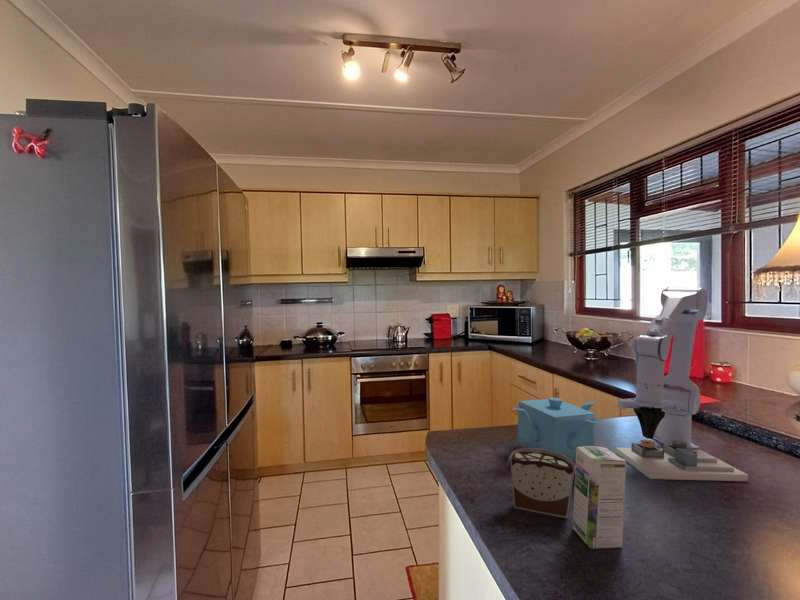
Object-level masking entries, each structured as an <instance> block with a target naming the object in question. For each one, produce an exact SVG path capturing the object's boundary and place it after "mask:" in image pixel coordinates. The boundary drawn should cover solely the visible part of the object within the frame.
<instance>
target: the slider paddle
mask: <svg viewBox="0 0 800 600" xmlns="http://www.w3.org/2000/svg"><path fill="white" fill-rule="evenodd" d="M675 461H677V462H678V463H680V464H682V465H683V466H697V455H696V454H695V453H693V452H691V451H689V450H687V449H677V448H676V457H675Z"/></svg>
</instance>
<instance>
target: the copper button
mask: <svg viewBox="0 0 800 600" xmlns="http://www.w3.org/2000/svg"><path fill="white" fill-rule="evenodd" d="M640 443H641V444H640V447H641V448H643V449H645V450H655V446H656V444H655V443H656V442H655V441H652V440H650V439H640Z"/></svg>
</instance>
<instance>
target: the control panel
mask: <svg viewBox="0 0 800 600" xmlns="http://www.w3.org/2000/svg"><path fill="white" fill-rule="evenodd" d="M640 444H641V442H640V443H637V442H635V443H632V442H631V447H615V453H614V454H616V455H617V456H619V457H620V458H621V459H624V460H626V463H627V464H630V465H631V466H632V467H633V468H635V469H636V470H637V471H639V472H640V473H642V475H644V476H645V477H647V478H648V479H650V480H676V481H677V480H679V481H680V480H681V481H683V480H684V481H686V480H687V481H712V482H713V481H719V482H720V481H721V482H723V481H724V482H748V481H749V474H747V473H746V472H743V471H742V470H740V469H738V468H736V467H734V466H732V465H730V464H729V463H727V462H725V461H722V460H721V459H719V458H716V456H713V455H712V454H709V453H707V452H705V451H704V450H701V449H692V448H688V447H687V450H689V451H691V452H693V453H695V454H696V455H697V466H683V465H682V464H680V463H678V462H677V461H675V457H676V450H675V449H673V448H672V444H662V448H659V447H658V446H656V445H655V450H645V449H643V448H641V447H640Z"/></svg>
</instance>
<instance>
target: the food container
mask: <svg viewBox="0 0 800 600" xmlns="http://www.w3.org/2000/svg"><path fill="white" fill-rule="evenodd" d="M509 464H510V473H511V484H512V485H511V488H512V496H513V497H512V499H513V508H514V509H517V510H524V511H528V512H533V513H539V514H544V515H549V516H552V517H553V516H554V517H559V518H564V519H568V517H569V515H568V514H569V509H570V502H571V497H572V490H573V483H574V479H575V468H576V463H574V462H573V461H572V460H571V459H569V458H568V457H566V456H564V455H562V454H560V453H557V452H554V451H550V450H546V449H539V448H527V447H523V448H522V447H521V448H517V449H516V450H515V449H514V451H512V452H511V453H510V455H509V457H508V462H507V466H509Z"/></svg>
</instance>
